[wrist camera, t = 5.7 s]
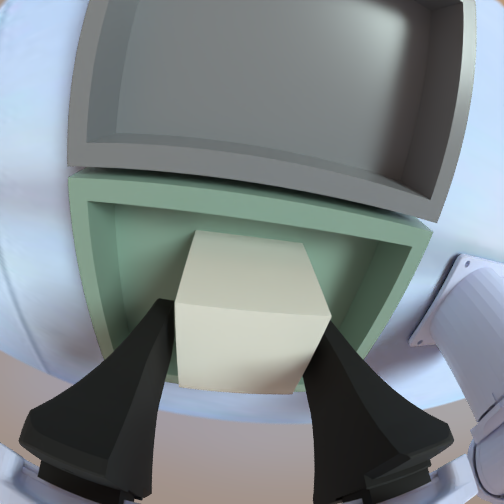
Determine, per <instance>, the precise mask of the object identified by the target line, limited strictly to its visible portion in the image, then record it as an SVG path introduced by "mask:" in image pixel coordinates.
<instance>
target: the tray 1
mask: <svg viewBox="0 0 504 504" xmlns="http://www.w3.org/2000/svg"><path fill="white" fill-rule="evenodd" d="M475 60H476V4H475V0H90V1H89V5H88V8H87V11H86V15H85V18H84V22H83V26H82V30H81V34H80V38H79V43H78V48H77V53H76V58H75V64H74V70H73V77H72V84H71V93H70V103H69V116H68V140H67V164H68V166H77V167H106V168H125V169H140V170H153V171H164V172H175V173H184V174H194V175H202V176H211V177H218V178H226V179H233V180H240V181H247V182H254V183H260V184H266V185H272V186H278V187H284V188H290V189H295V190H300V191H306V192H311V193H316V194H321V195H326V196H331V197H336V198H340V199H345V200H349V201H354V202H358V203H362V204H367V205H371V206H375V207H379V208H383V209H387V210H391V211H395V212H399V213H403V214H406V215H410V216H414V217H417V218H421V219H424V220H428V221H431V222H435V223H437V221H438V219H439V216H440V214H441V211H442V208H443V206H444V203H445V200H446V197H447V194H448V191H449V188H450V185H451V182H452V179H453V176H454V172H455V169H456V166H457V162H458V158H459V155H460V151H461V147H462V143H463V139H464V134H465V130H466V125H467V120H468V115H469V109H470V103H471V97H472V90H473V82H474V72H475Z"/></svg>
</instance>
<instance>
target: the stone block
mask: <svg viewBox="0 0 504 504" xmlns="http://www.w3.org/2000/svg"><path fill="white" fill-rule="evenodd" d="M331 317H332V316H331V313H330V311H329V308H328V305H327V303H326V300H325V298H324V295H323V292H322V290H321V287H320V285H319V282H318V280H317V277H316V275H315V272H314V270H313V267H312V265H311V262H310V260H309V257H308V255H307V253H306V250H305V248H304V245H303V243H297V242H289V241H282V240H274V239H266V238H258V237H250V236H242V235H234V234H226V233H218V232H209V231H201V230H196V231H195V235H194V238H193V241H192V244H191V248H190V251H189V254H188V258H187V261H186V264H185V268H184V271H183V275H182V278H181V282H180V285H179V289H178V293H177V296H176V300H175V327H176V349H177V366H178V380H179V387H182V388H190V389H198V390H208V391H218V392H231V393H248V394H293V392H294V390H295V388H296V386H297V385H298V383H299V381H300V379H301V377H302V375H303V374H304V372H305V370H306V368H307V366H308V364H309V362H310V360H311V358H312V356H313V354H314V352H315V350H316V348H317V346H318V344H319V342H320V340H321V338H322V336H323V334H324V332H325V330H326V327H327V325H328V323H329V321H330V319H331Z"/></svg>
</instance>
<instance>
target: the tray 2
mask: <svg viewBox="0 0 504 504" xmlns="http://www.w3.org/2000/svg"><path fill="white" fill-rule="evenodd" d="M68 188H69V202H70V212H71V221H72V229H73V237H74V243H75V250H76V256H77V261H78V266H79V272H80V276H81V281H82V286H83V290H84V294H85V298H86V302H87V306H88V310H89V314H90V317H91V321H92V324H93V328H94V331H95V334H96V337H97V340H98V344H99V347H100V350H101V352H102V355H103V358H104V360H105V359H106V358H107V357H108V356H109V355H110V354H111V353H112V352H113V351H114V350H115V349H116V348H117V347H118V346H119V345H120V344H121V343H122V342H123V341H124V340H125V339H126V338H127V336H128V335H129V334H130V333H131V332H132V331H133V329H134V328H135V327H136V326H137V325H138V324H139V322H140V321H141V320H142V319H143V317H144V316H145V315H146V313H147V312H148V311H149V310H150V308H151V307H152V305H153V304H154V303H155V301H156V300H157V299H159V298H161V299H168V300H174V329H175V337H174V343H173V350H172V356H171V360H170V364H169V368H168V372H167V375H166V379H165V382H170V383H177V384H179V380H178V366H177V349H176V327H175V300H176V296H177V293H178V289H179V285H180V282H181V278H182V275H183V271H184V268H185V264H186V261H187V258H188V254H189V251H190V248H191V244H192V241H193V238H194V235H195V231H196V230H201V231H209V232H218V233H226V234H234V235H242V236H250V237H258V238H266V239H274V240H282V241H289V242H297V243H303V245H304V248H305V250H306V253H307V255H308V257H309V260H310V262H311V265H312V267H313V270H314V272H315V275H316V277H317V280H318V282H319V285H320V287H321V290H322V292H323V295H324V298H325V300H326V303H327V305H328V308H329V311H330V313H331V316H332V317H331V319H330V320H331V321H332V323H333V324H334V325H335V326H336V328H337V329H338V330H339V331H340V333H341V334H342V335H343V336H344V338H345V339H346V340H347V341H348V342H349V344H350V345H351V346H352V347H353V349H354V350H355V351H356V352H357V353H358V354H359V356H360V357H361V358H362V359H363V360H364V358H365V357H366V355H367V354H368V353H369V351H370V350H371V348H372V346H373V345H374V343H375V342H376V340H377V339H378V337H379V336H380V334H381V332H382V331H383V329H384V328H385V326H386V324H387V323H388V321H389V319H390V318H391V316H392V314H393V312H394V311H395V309H396V307H397V305H398V304H399V302H400V300H401V298H402V296H403V295H404V293H405V291H406V289H407V287H408V285H409V283H410V281H411V279H412V277H413V275H414V273H415V271H416V269H417V267H418V265H419V263H420V261H421V259H422V257H423V254H424V252H425V250H426V248H427V245H428V243H429V241H430V238H431V236H432V234H433V231H431V230H430V229H429V228H428V227H427V226H425V225H424V224H423V223H422V222H421V221H419V220H418V219H417V218H416V217H414V216H410V215H406V214H403V213H399V212H395V211H391V210H387V209H383V208H379V207H375V206H371V205H367V204H362V203H358V202H354V201H349V200H345V199H340V198H336V197H331V196H326V195H321V194H316V193H311V192H306V191H300V190H295V189H290V188H284V187H278V186H272V185H266V184H260V183H254V182H247V181H240V180H233V179H226V178H218V177H211V176H202V175H194V174H184V173H175V172H164V171H153V170H140V169H125V168H106V167H86V168H84V169H83V170H81V171H79V172H77V173H75V174H73V175H72V176H70V177H68ZM294 392H306V389H305V385H304V380H303V376H302V377H301V379H300V381H299V383H298V385H297V386H296V388H295V390H294Z"/></svg>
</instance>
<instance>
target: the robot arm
mask: <svg viewBox="0 0 504 504" xmlns="http://www.w3.org/2000/svg"><path fill="white" fill-rule="evenodd" d="M174 337H175V329H174V300H168V299H161V298H159V299H157V300H156V301H155V303H154V304H153V305H152V307H151V308H150V310H149V311H148V312H147V313H146V315H145V316H144V317H143V319H142V320H141V321H140V322H139V324H138V325H137V326H136V327H135V328H134V329H133V331H132V332H131V333H130V334H129V335H128V336H127V338H126V339H125V340H124V341H123V342H122V343H121V344H120V345H119V346H118V347H117V348H116V349H115V350H114V351H113V352H112V353H111V354H110V355H109V356H108V357H107V358H106V359H105V360H104V361H103V362H102V363H101V364H100V365H98V366H97V367H96V368H95V369H94V370H92V371H91V372H90V373H89V374H88V375H86V376H85V377H84V378H83V379H81V380H80V381H79V382H77V383H76V384H74V385H73V386H71V387H70V388H68V389H67V390H65V391H64V392H62V393H61V394H59V395H58V396H56V397H54V398H53V399H51V400H49V401H47V402H45V403H43V404H42V405H40V406H38V407H36V408H34V409H32V410H30V412H29V414H28V416H27V418H26V420H25V423H24V426H23V429H22V432H21V435H20V438H19V443H20V445H21V446H22V447H24V448H25V449H26V450H28V451H29V452H30V453H32V454H33V455H35V456H36V457H38V458H39V459H40V460H41V464H40V467H38V466H36V465H34V464H32V463H31V462H29V461H27V460H25V459H24V458H23V457H22V456H20V455H19V454H17V453H16V452H14V451H13V450H11V449H10V448H8V447H6V446H5V445H3V444H2V443H0V504H139V503H135V502H134V499H138V500H142V499H143V498H145V497H147V496H149V495H150V494H152V462H153V448H154V437H155V428H156V420H157V412H158V407H159V402H160V398H161V394H162V391H163V387H164V383H165V379H166V375H167V372H168V368H169V364H170V360H171V356H172V350H173V343H174ZM408 343H409V345H410V346H411V347H416V346H427V345H437V346H438V348H439V350H440V352H441V353H442V355H443V357H444V358H445V360H446V362H447V364H448V366H449V367H450V369H451V371H452V373H453V375H454V376H455V378H456V380H457V382H458V384H459V386H460V388H461V390H462V392H463V394H464V396H465V398H466V400H467V402H468V404H469V406H470V408H471V410H472V412H473V414H474V417H475V419H476V421H477V422H479V423H478V424H477V425H476V426H475V427H474V428H472V429H471V430H470V431H471V434H472V436H473V440H472V441H471V444H470V446H469V450H468V454H467V455H466V454H463V455H461V456H460V457H458V458H456V459H454V460H453V461H451V462H449V463H447V464H445V465H443V466H442V467H440V468H438V469H437V470H436V471H433V472H431V473H429V471H428V467H430V466H431V462H430V459H431V458H433V457H434V456H436V455H437V454H439V453H440V452H442V451H443V450H445V449H446V448H448V447H449V446H450V445H451V444H452V443H453V442H454V439H453V436H452V433H451V431H450V428H449V426H448V424H447V423H445V422H443V421H441V420H439V419H437V418H435V417H433V416H431V415H429V414H428V413H426V412H424V411H423V410H421V409H420V408H418V407H416V406H415V405H413V404H412V403H411V402H409V401H408V400H406V399H405V398H404V397H402V396H401V395H400V394H399V393H397V392H396V391H395V390H394V389H392V388H391V387H390V386H389V385H388V384H387V383H386V382H385V381H383V380H382V379H381V378H380V377H379V376H378V375H377V374H376V373H375V372H374V371H373V370H372V369H371V368H370V367H369V366H368V364H367V363H366V362H365V361H364V360H363V359H362V358H361V357H360V356H359V354H358V353H357V352H356V351H355V350H354V349H353V347H352V346H351V345H350V344H349V342H348V341H347V340H346V339H345V338H344V336H343V335H342V334H341V333H340V331H339V330H338V329H337V328H336V326H335V325H334V324H333V323H332V321H331V320H330V321H329V323H328V325H327V327H326V330H325V332H324V334H323V336H322V338H321V340H320V342H319V344H318V346H317V348H316V350H315V352H314V354H313V356H312V358H311V360H310V362H309V364H308V366H307V368H306V370H305V372H304V374H303V375H302V376H303V380H304V385H305V389H306V394H307V398H308V403H309V407H310V412H311V418H312V426H313V438H314V459H315V460H314V462H315V476H314V494H313V503H314V504H337V503H341V504H464V503H465V502H467V501H468V500H469V499H471V498H472V497H473V496H475V495H477V496H478V497H480V498H481V499H483V500H486V501H489V502H491V503H492V504H504V264H503V263H499V262H495V261H491V260H487V259H483V258H479V257H475V256H471V255H467V254H461V255H459V256H458V257H457V259H456V261H455V263H454V265H453V267H452V269H451V271H450V273H449V275H448V276H447V278H446V280H445V282H444V284H443V286H442V288H441V289H440V291H439V293H438V295H437V296H436V298H435V300H434V302H433V303H432V305H431V307H430V308H429V310H428V312H427V313H426V315H425V316H424V318H423V319H422V321H421V323H420V324H419V326H418V327H417V329H416V330H415V332H414V333H413V335H412V336H411V338H410V339H409V341H408ZM342 502H343V503H342Z"/></svg>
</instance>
